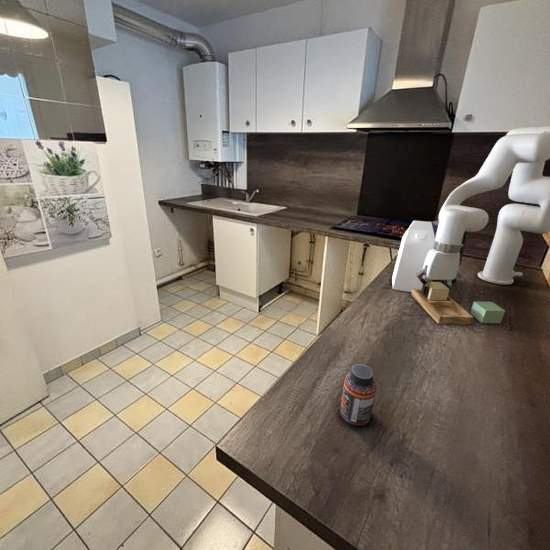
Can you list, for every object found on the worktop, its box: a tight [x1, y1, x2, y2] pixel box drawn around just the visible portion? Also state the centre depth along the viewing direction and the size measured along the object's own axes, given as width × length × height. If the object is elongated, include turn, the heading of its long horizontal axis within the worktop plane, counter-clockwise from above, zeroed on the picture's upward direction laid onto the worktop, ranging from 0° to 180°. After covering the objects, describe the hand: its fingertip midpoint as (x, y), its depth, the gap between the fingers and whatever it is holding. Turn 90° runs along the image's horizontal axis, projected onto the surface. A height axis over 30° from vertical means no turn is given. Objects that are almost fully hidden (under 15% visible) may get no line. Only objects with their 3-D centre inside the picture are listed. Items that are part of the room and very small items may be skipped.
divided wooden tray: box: [410, 289, 475, 325], centre depth 99 cm, size 10×20×3 cm, turn 0°
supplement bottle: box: [339, 363, 377, 427], centre depth 56 cm, size 6×6×11 cm
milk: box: [391, 220, 435, 293], centre depth 111 cm, size 12×12×26 cm
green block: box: [469, 300, 506, 324], centre depth 94 cm, size 6×6×4 cm
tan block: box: [426, 282, 450, 301], centre depth 103 cm, size 6×6×4 cm
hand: (433, 295), depth 103 cm, fingers closed on tan block, 6 cm apart
